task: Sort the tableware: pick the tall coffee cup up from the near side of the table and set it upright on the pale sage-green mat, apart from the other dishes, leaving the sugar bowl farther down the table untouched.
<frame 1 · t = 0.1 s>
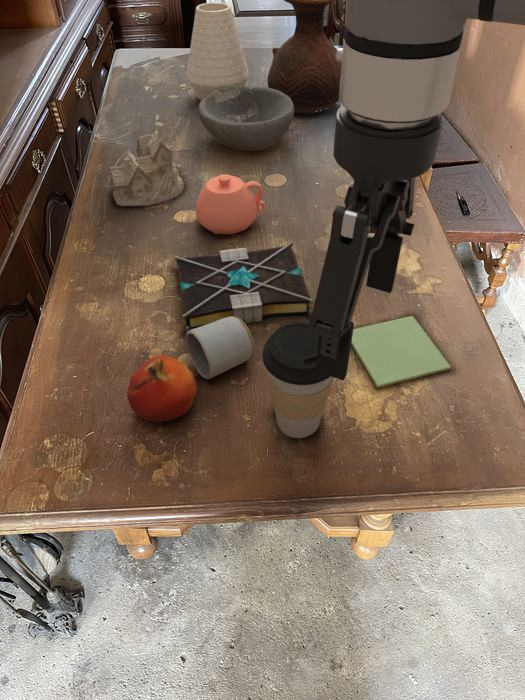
hand: (357, 327, 53), 24 cm above the table, tool pointing down, fingers open, 13 cm apart
jug: (306, 106, 151), on the table
bowl: (247, 143, 135), on the table
tomato: (166, 407, 77), on the table
sugar bowl: (231, 223, 110), on the table
vase: (219, 100, 155), on the table
ceramic cottage: (148, 187, 121), on the table
sage mat: (395, 351, 84), on the table
coffee cup: (297, 421, 75), on the table
ceramic mug: (216, 359, 84), on the table
book: (241, 293, 94), on the table
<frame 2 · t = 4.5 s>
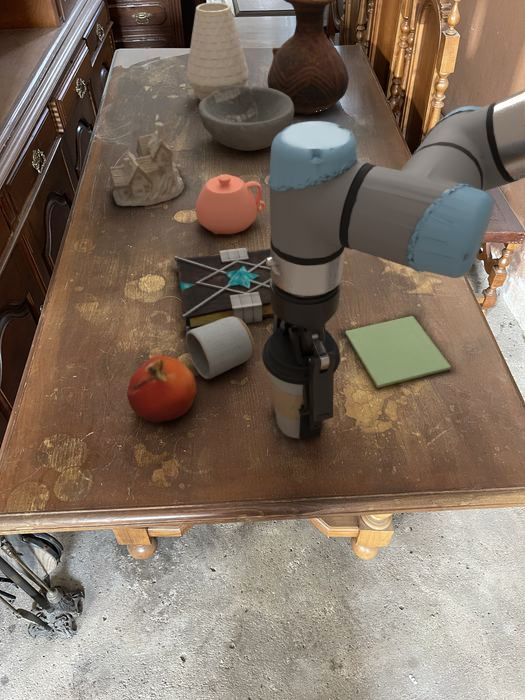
hand: (298, 410, 73), 2 cm above the table, tool pointing down, fingers closed on coffee cup, 8 cm apart
coffee cup: (297, 421, 75), on the table, touching gripper
everything else where it was.
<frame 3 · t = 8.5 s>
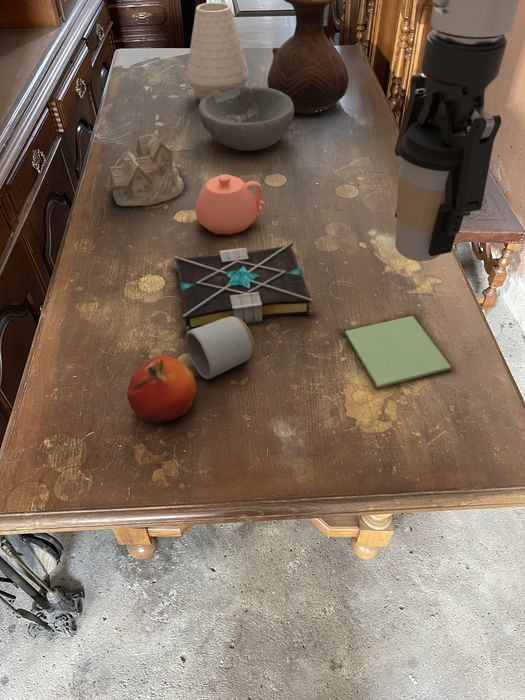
hand: (421, 233, 68), 22 cm above the table, tool pointing down, fingers closed on coffee cup, 8 cm apart
coffee cup: (417, 248, 70), point 19 cm above the table, touching gripper
everything else where it was.
when the fingers open (3 cm above the table, at t = 12.9 s): coffee cup stays where it is, resting on sage mat.
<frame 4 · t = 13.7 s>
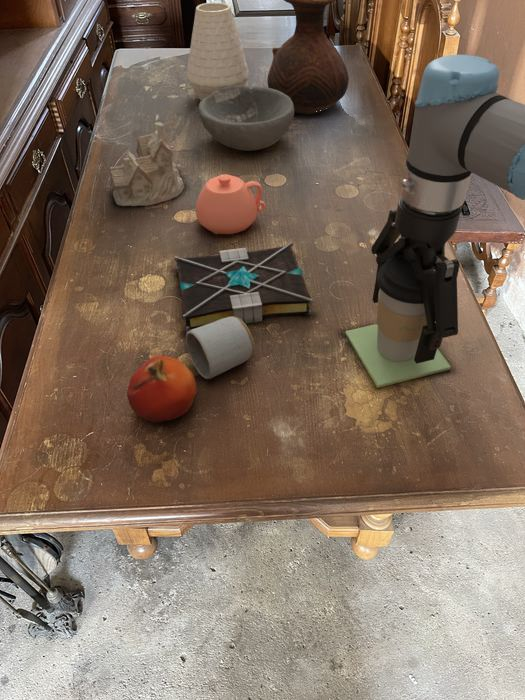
hand: (401, 328, 80), 5 cm above the table, tool pointing down, fingers open, 13 cm apart
coffee cup: (395, 348, 84), resting on sage mat
everything else where it was.
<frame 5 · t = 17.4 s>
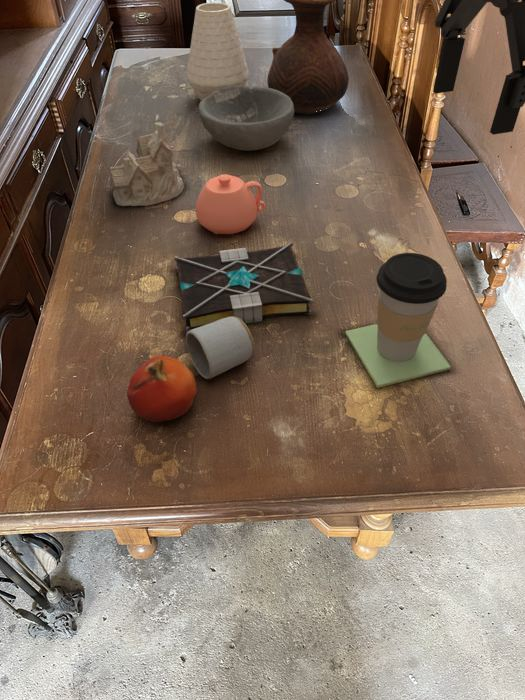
hand: (470, 110, 70), 32 cm above the table, tool pointing down, fingers open, 13 cm apart
nothing on the table moved.
at the end: coffee cup inside the target area on the sage mat (0.1 cm from its centre), point 0.4 cm above the sage mat's base; coffee cup tilted 0°; sugar bowl moved 0.2 cm from its start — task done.
